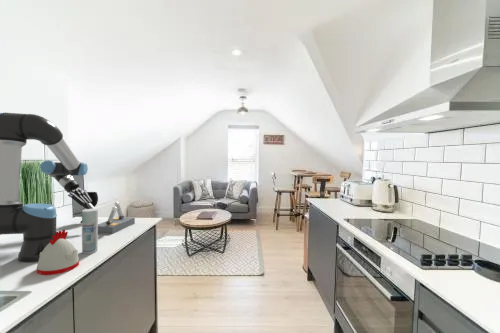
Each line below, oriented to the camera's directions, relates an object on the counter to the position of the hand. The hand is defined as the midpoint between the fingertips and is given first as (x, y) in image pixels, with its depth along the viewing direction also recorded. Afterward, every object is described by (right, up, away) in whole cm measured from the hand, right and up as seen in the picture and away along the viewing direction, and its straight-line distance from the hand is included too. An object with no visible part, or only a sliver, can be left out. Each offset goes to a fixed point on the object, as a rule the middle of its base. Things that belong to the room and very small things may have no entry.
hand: (94, 212), depth 158 cm
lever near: (+9, -7, -1) cm, 11 cm away
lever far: (+10, -7, +13) cm, 18 cm away
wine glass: (-16, -10, +21) cm, 29 cm away
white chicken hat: (+17, -14, -52) cm, 57 cm away
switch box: (+9, -11, +7) cm, 16 cm away
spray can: (+18, -13, -34) cm, 41 cm away
